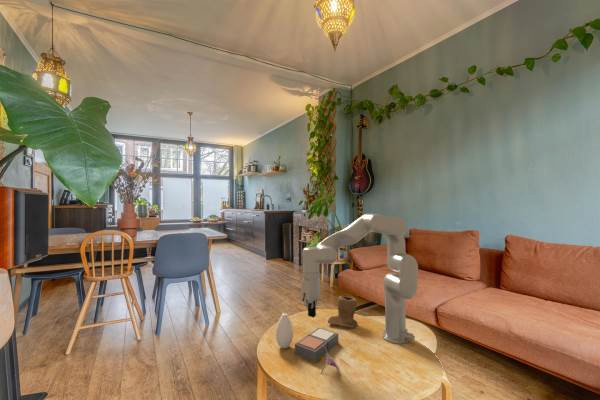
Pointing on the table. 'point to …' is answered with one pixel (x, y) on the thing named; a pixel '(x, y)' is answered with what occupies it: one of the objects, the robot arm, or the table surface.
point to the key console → (320, 351)
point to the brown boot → (345, 312)
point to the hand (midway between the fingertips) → (311, 316)
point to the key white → (322, 334)
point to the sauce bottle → (284, 331)
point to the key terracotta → (311, 343)
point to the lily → (330, 362)
